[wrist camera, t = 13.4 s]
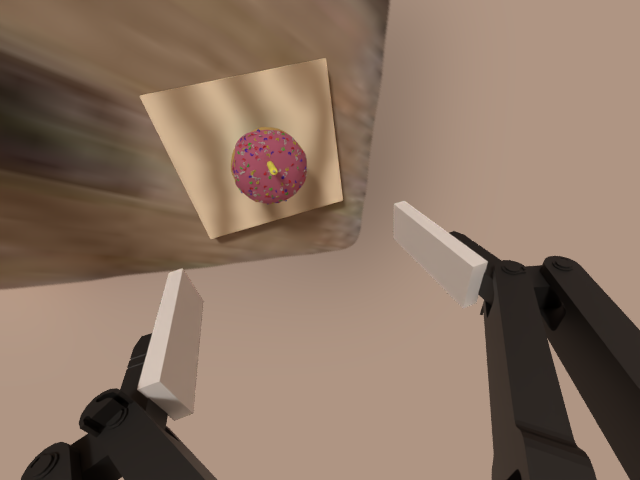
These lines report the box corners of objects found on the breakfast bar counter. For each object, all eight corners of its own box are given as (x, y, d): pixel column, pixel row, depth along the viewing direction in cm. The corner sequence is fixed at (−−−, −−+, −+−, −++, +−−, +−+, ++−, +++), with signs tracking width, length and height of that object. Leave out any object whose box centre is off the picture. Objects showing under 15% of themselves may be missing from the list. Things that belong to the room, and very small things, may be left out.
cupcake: (217, 134, 30) (213, 164, 21) (286, 110, 31) (313, 128, 21) (247, 198, 35) (256, 246, 26) (306, 176, 36) (335, 215, 26)
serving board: (211, 233, 38) (210, 239, 37) (143, 94, 28) (139, 95, 26) (339, 196, 41) (343, 200, 40) (321, 58, 31) (325, 58, 29)
